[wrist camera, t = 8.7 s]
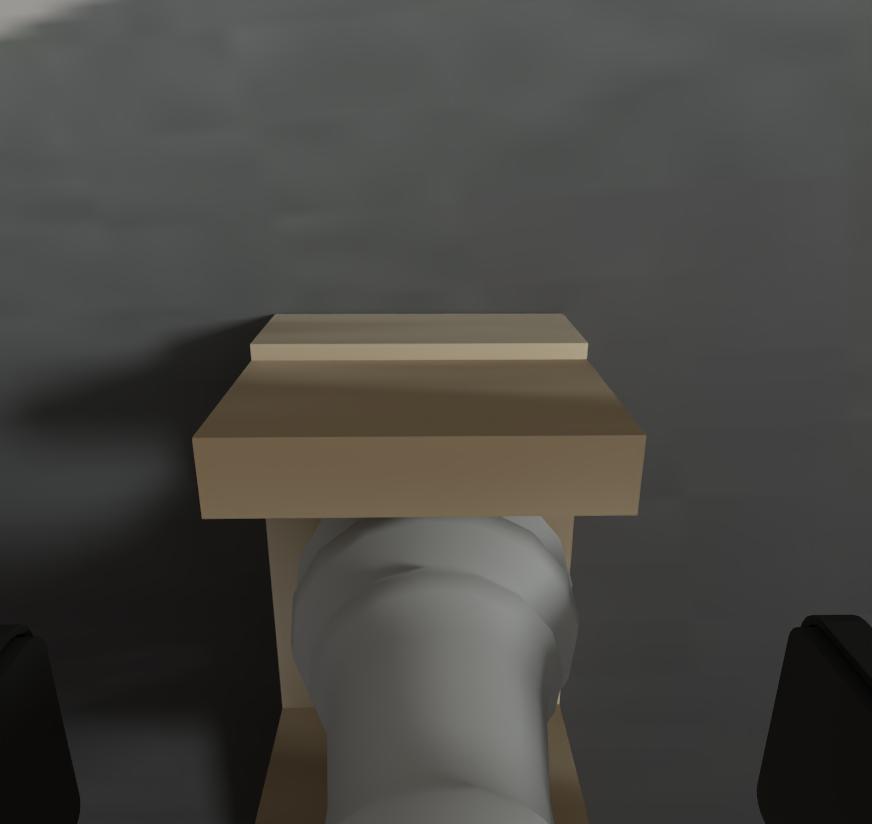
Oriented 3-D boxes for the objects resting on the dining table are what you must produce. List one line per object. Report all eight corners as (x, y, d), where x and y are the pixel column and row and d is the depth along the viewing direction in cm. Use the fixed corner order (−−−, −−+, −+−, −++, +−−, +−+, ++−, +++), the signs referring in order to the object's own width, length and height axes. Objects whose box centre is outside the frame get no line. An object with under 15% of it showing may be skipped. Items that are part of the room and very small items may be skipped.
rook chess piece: (319, 697, 13) (170, 1472, 5) (279, 469, 11) (-8, 1101, 4) (569, 677, 13) (780, 1430, 5) (563, 445, 11) (848, 1037, 4)
